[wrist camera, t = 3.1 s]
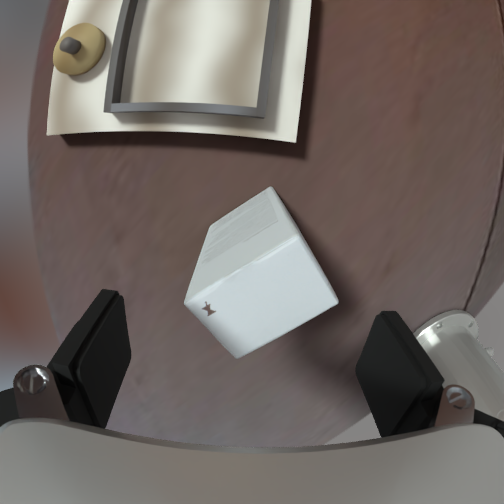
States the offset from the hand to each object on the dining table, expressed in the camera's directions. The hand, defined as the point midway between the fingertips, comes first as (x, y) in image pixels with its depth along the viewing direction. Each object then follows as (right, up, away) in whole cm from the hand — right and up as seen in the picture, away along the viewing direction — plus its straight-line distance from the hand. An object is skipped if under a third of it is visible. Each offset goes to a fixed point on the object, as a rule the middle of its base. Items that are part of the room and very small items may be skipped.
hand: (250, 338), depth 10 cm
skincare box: (0, +5, +14) cm, 15 cm away
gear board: (-6, +19, +8) cm, 21 cm away
